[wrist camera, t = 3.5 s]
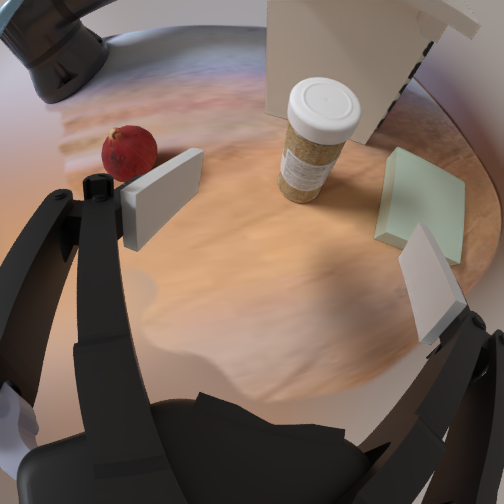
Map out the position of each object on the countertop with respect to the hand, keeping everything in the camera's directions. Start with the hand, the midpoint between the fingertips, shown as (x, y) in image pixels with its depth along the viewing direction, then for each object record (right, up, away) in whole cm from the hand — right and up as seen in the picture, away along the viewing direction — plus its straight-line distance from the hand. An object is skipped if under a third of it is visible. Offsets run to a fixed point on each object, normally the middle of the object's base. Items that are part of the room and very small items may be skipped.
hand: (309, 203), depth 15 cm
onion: (-15, +7, +13) cm, 21 cm away
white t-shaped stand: (+3, +9, +13) cm, 16 cm away
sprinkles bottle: (+2, +4, +13) cm, 13 cm away
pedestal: (+16, +2, +12) cm, 20 cm away
